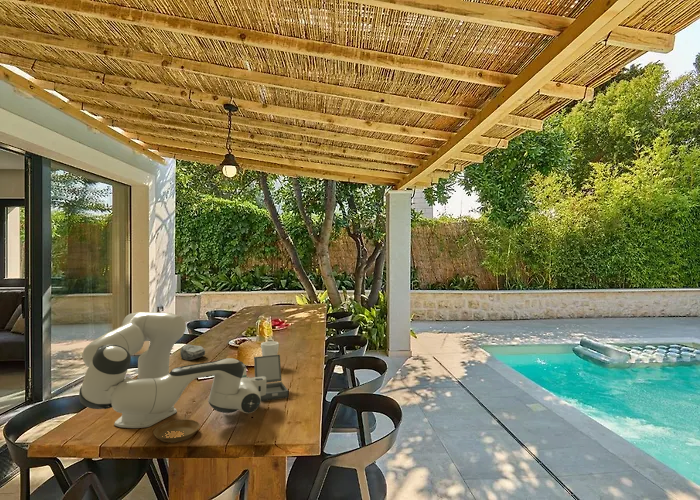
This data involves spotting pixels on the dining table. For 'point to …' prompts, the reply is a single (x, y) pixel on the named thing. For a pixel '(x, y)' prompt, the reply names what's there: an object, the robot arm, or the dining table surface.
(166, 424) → the plant saucer
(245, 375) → the block
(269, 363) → the grey picture frame
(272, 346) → the foam cup
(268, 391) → the case
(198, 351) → the decorative stone
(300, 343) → the dining table surface
